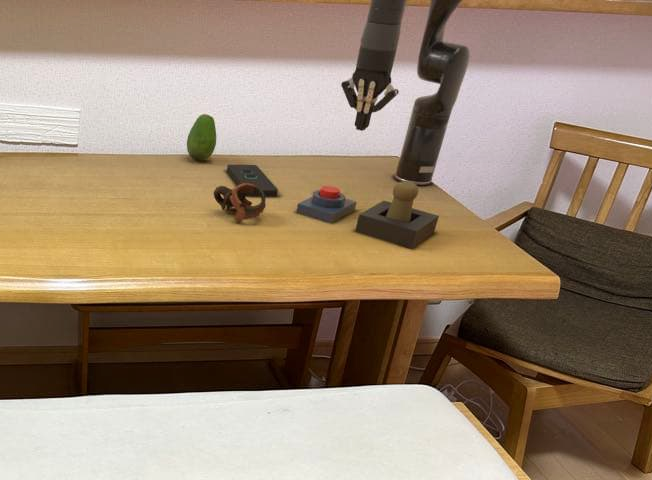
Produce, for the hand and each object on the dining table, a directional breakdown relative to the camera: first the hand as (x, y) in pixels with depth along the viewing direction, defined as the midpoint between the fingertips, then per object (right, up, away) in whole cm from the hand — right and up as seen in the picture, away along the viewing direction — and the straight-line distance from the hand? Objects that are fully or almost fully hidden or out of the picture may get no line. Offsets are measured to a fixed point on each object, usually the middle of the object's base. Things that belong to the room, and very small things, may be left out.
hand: (360, 129), depth 169 cm
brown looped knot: (-28, -19, +1) cm, 34 cm away
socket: (+7, -24, -2) cm, 25 cm away
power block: (-6, -17, +7) cm, 19 cm away
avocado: (-33, +4, +35) cm, 48 cm away
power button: (-6, -14, +5) cm, 16 cm away
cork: (+7, -24, -2) cm, 25 cm away
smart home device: (-21, -6, +21) cm, 30 cm away
